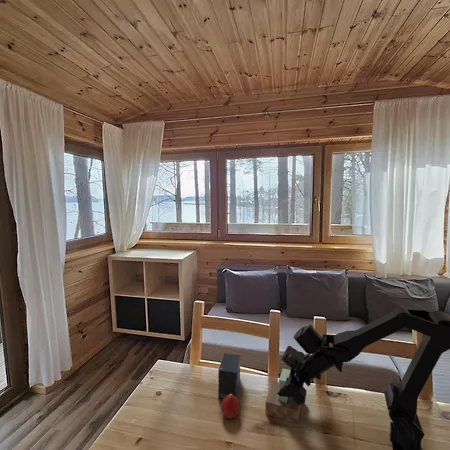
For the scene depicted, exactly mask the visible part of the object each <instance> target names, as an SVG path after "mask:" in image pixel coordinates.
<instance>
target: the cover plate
mask: <svg viewBox="0 0 450 450" xmlns="http://www.w3.org/2000/svg"><path fill="white" fill-rule="evenodd" d="M290 376H291V370H290V369H288V368H287V369H286V368H282V369H281V373H280V375H279V379H278V383H279V391H280V389H282V388H283V387H284V386H285V385H286V384H285V383H286V379H287V377H288V378H290ZM288 401H289V397H282V396H279V402H282V403H286V404H288Z"/></svg>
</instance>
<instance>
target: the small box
mask: <svg viewBox="0 0 450 450" xmlns="http://www.w3.org/2000/svg"><path fill="white" fill-rule="evenodd" d="M217 375H218V376H217V377H218V393H217V394H218V395H217V398H218V399H222V400H223V399H224V398H225V397H226V396H227V395H230V394H232V395H234V396H235V397H236V398H237V395H238V391H239V387H240V386H239V385H240V381H241V355H239V354H233V353H227V352H225V353H223V356H222V359H221V361H220V365H219V367H218V373H217Z"/></svg>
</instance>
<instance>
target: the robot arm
mask: <svg viewBox="0 0 450 450" xmlns="http://www.w3.org/2000/svg"><path fill="white" fill-rule="evenodd" d="M403 329H409V330H413V331H415V332H418V333H420V334H422V335H421V337H422V338H421V341H420V344H419V345H418V347H417V349H416V350H415V353H414V355H413V357H412V359H411V361H410V363H409V365H408V366H407V368H406V370H405V373H404V374H403V376H402V379H401V380H400V382H398V383H397V384H393V383H392V382H389V383H388V386H387V389H386V390H385V391H384V392H383V393H384V399H385V403H386V408H387V412H388V416H389V419H390V422H389V441H390V443H391V447H392V448H391V449H392V450H422V449H421V447H422V439H423V438H424V437H425V432H424V430H423V426H422V424H421V422H420V419H419V416H418V399H419V396H420V395H421V393H422V391H423V389H424V387H425V385H426V383H427V382H428V380H429V378H430V376H431V374H432V372H433V371H434V369H435V367H436V365H437V363H438V361H439V360H440V358H441V357H442V354H443V353H445V352H448V351H449V350H450V315H449V314H448V313H447V312H445V311H442V310H434V311H429V310H425V309H418V308H417V309H414V308H413V309H412V308H406V307H400V306H399V307H397V308H395V309H394V310H393V311H391V312H389V313H387V314H385V315H383V316H381V317H379V318H377V319H375V320H373V321H372V322H369V323H368V324H365V325H364V326H362V327H360V328H358V329H354V330H345V331H342V332H338V333H336V334H322V335H320V334H319V332H318V331H316V329H315V327H314V326H313V324H308V325H305V326H302V327H301V328H299V329H298V330H297V331H296V332H295V333H294V334H293V339H294V340H295V342H296V343H297V344H298V346H300V347H301V349H302V350H303V351H304V352H305V353H306V354H304V352H303V351H299V350H297V349H295V348H294V347H293V346H291V345H287V347H286V348H285V350H284V352H283V355H282V356H281V361H282V362H283V363H284V364H285V365H286V366H288V367H289V368H290V369H289V370H291V376H290V378H288V377H287V379H286V383H285V384H286V385H285V386H284V387H283V388H282V389H280V391H279V392H278V393H277V394H278V395H279V396H282V397H292V398H293V399H294V400H295V401H296V403H297V404H298V405H302V406H303V405H304V404H305V403H306V400H307V394H308V393H307V392H308V391H307V389H306V388H305V386H304V384H305V385H306V386H307V387H310V386H311V384H312V382H313V381H314V380H315V379H317V380H318V381H319V380H321V379H322V375H323V374H325V373H326V372H327V371H330V370H331V369H332V368H334V367H335V368H336V369H337V370H338V372H340V373H342V372H343V366H344V363H349V362H351V361H352V360H354V359H355V358H357V356H359V355H360V354H361V352H363V350H364V349H365V348H367V347H368V346H370V345H372V344H374V343H376V342H378V341H380V340H383V339H386V338H388V337H389V336H391V335H393V334H395V333H397V332H400V331H402V330H403ZM330 344H331V346H330Z"/></svg>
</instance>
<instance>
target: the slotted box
mask: <svg viewBox="0 0 450 450" xmlns="http://www.w3.org/2000/svg"><path fill="white" fill-rule="evenodd" d="M278 392H279V382H276V381H272V383H271V385H270V389H269V391H268V394H267V396H266V399H265V414H266V415H270V416H272V417H275V418H279V419H282V420H286V421H287V422H288V421H289V422H290V423H294V424H297V425H298V424H299V420H300V415H301V410H302V406H303V404H302V405H298V404H297V403H296V401H295V400H294V399H293V398H292V397H289V401H288V404H286V403H282V402H279V395H278V394H277V393H278Z"/></svg>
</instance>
